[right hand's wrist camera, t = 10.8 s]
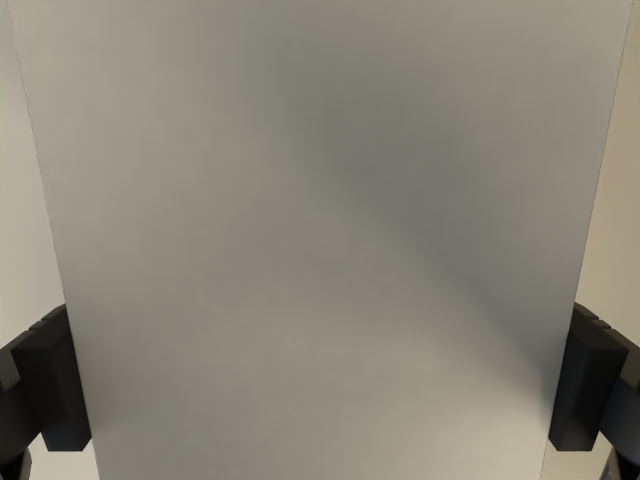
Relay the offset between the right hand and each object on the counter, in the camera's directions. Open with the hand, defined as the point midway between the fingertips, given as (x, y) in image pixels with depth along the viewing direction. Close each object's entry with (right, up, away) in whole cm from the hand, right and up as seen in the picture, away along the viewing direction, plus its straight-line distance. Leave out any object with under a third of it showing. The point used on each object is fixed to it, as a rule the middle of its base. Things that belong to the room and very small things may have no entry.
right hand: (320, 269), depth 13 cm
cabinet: (0, +5, +1) cm, 5 cm away
